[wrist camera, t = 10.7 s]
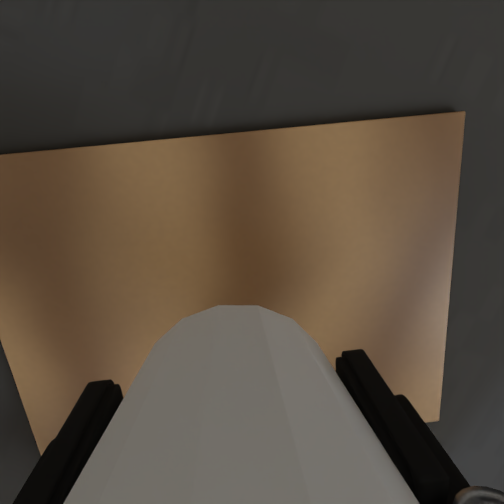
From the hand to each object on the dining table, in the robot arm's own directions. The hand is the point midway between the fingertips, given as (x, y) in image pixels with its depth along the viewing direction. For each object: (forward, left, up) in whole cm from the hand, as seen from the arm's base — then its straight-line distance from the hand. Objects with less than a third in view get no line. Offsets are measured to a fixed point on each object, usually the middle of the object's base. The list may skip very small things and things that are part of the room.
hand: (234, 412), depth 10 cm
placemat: (0, 0, -6) cm, 6 cm away
